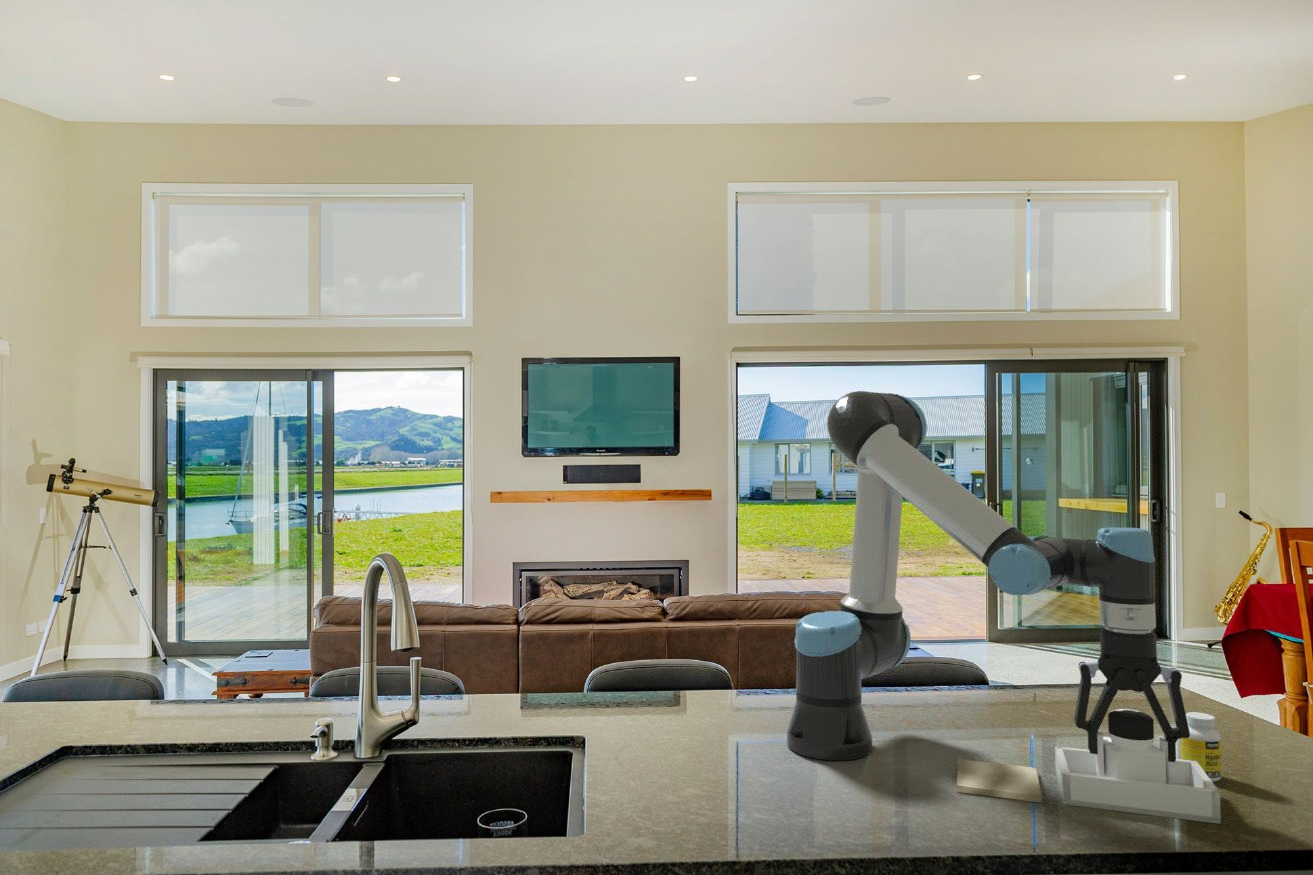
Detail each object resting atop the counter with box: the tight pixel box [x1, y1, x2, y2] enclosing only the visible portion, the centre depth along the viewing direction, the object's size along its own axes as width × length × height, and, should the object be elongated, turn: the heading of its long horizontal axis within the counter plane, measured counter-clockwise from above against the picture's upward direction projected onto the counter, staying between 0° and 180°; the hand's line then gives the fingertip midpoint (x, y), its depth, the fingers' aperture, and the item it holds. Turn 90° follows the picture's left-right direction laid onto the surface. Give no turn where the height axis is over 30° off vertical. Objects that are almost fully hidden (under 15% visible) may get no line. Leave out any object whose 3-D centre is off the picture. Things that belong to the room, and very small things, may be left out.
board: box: [956, 758, 1043, 803], centre depth 132 cm, size 12×12×1 cm
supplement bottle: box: [1180, 711, 1222, 783], centre depth 134 cm, size 5×5×10 cm
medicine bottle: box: [1103, 708, 1167, 784], centre depth 126 cm, size 7×7×12 cm
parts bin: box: [1054, 745, 1222, 825], centre depth 126 cm, size 20×13×4 cm, turn 69°
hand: (1131, 778), depth 126 cm, fingers closed on medicine bottle, 8 cm apart
